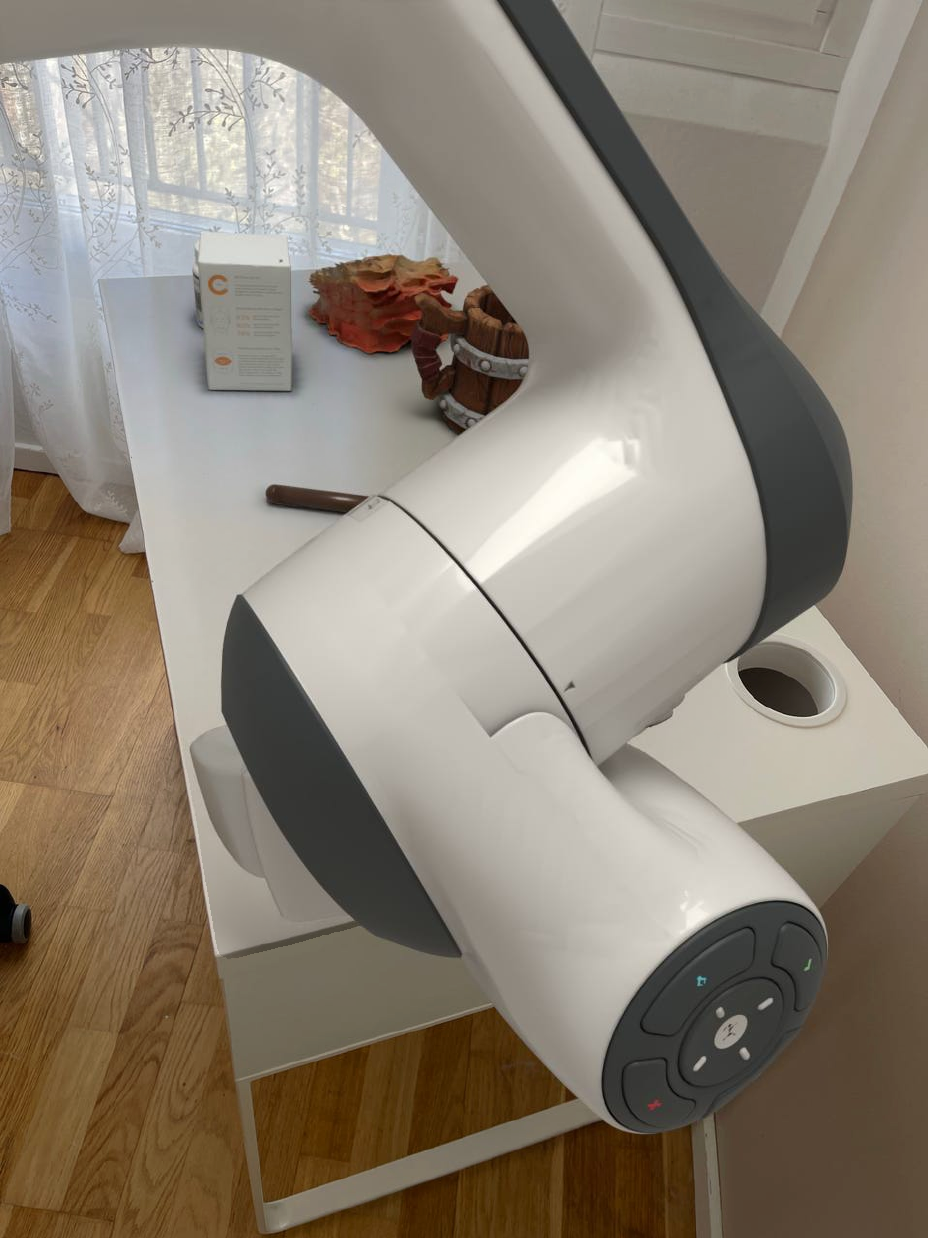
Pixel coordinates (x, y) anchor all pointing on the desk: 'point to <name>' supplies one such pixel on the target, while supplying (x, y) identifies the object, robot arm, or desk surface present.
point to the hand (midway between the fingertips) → (379, 675)
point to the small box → (246, 310)
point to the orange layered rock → (377, 299)
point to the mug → (469, 356)
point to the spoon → (313, 498)
